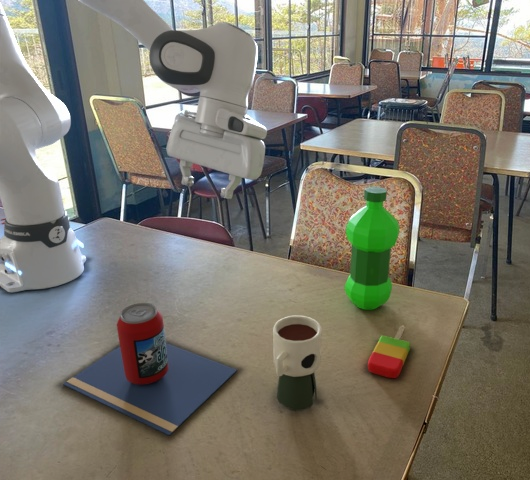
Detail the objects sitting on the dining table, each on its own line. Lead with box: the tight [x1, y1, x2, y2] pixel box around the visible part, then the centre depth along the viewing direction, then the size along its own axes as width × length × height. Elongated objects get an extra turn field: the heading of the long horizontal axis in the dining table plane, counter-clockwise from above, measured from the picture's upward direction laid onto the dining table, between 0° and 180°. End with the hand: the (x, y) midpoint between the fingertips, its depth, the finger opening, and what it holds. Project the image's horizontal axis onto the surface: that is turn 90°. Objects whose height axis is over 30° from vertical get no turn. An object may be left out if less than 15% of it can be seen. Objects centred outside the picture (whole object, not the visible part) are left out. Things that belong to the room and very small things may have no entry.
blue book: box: [62, 342, 238, 436], centre depth 78 cm, size 22×16×1 cm
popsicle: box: [367, 324, 411, 379], centre depth 86 cm, size 6×15×2 cm, turn 157°
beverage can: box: [116, 302, 169, 385], centre depth 76 cm, size 7×7×12 cm
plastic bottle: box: [344, 186, 401, 311], centre depth 96 cm, size 10×10×25 cm
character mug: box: [272, 314, 323, 411], centre depth 72 cm, size 11×7×13 cm, turn 153°
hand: (206, 191), depth 91 cm, fingers open, 8 cm apart
